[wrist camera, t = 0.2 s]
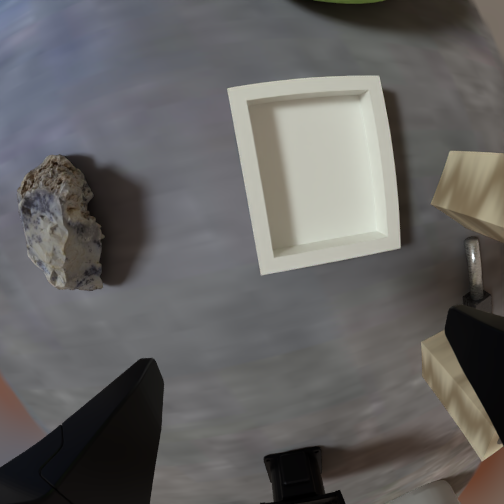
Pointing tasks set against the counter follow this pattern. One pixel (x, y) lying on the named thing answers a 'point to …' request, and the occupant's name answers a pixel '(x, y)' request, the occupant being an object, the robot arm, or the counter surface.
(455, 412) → the block
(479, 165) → the block
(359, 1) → the teapot
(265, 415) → the counter surface
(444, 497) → the grey compartment organizer
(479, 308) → the pin gauge
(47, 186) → the mineral specimen
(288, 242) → the tray
